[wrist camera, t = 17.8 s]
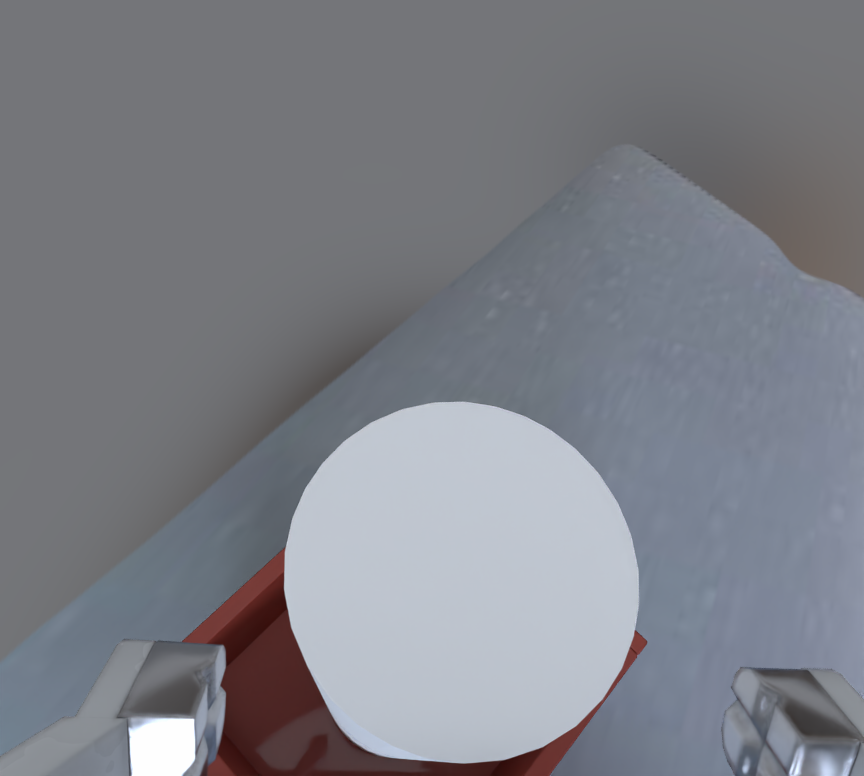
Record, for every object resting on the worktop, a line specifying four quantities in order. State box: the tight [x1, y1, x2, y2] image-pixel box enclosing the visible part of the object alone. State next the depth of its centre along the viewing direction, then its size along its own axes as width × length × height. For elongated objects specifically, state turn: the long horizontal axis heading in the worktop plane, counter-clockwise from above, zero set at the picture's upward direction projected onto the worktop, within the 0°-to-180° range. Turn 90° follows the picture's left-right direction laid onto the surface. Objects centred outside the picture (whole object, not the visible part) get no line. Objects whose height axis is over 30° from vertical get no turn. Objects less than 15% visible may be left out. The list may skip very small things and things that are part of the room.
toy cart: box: [182, 547, 647, 776], centre depth 36 cm, size 22×15×11 cm, turn 137°
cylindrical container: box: [284, 402, 639, 764], centre depth 25 cm, size 7×7×25 cm
